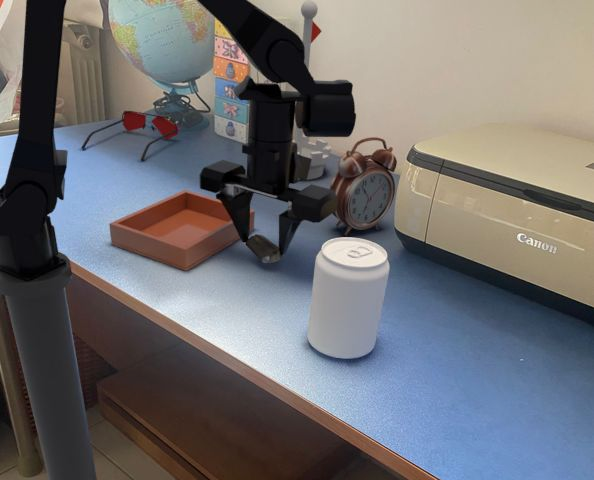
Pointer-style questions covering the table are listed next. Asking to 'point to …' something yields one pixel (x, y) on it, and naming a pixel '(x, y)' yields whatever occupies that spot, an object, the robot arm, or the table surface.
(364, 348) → the beverage can
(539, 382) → the table surface
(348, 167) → the alarm clock
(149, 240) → the desk tray
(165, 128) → the glasses
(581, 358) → the table surface
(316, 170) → the flag stand
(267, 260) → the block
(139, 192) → the table surface
